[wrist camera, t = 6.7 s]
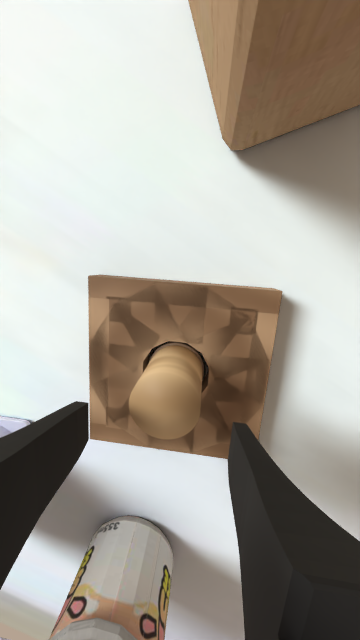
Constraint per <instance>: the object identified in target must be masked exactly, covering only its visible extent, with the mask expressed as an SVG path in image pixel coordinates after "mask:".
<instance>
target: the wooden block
mask: <svg viewBox="0 0 360 640" xmlns="http://www.w3.org/2000/svg"><path fill="white" fill-rule="evenodd" d="M188 1H189V5H190V9H191V13H192V17H193V21H194V25H195V29H196V33H197V37H198V41H199V45H200V49H201V53H202V57H203V61H204V65H205V69H206V73H207V78H208V82H209V86H210V90H211V94H212V98H213V102H214V106H215V110H216V114H217V118H218V122H219V126H220V130H221V134H222V138H223V140H224V141H225V143H226V144H227V145H228V147H229V148H230V150H244V149H246V148H249V147H252V146H254V145H257V144H259V143H262V142H265V141H267V140H270V139H272V138H275V137H278V136H280V135H283V134H285V133H288V132H290V131H293V130H296V129H298V128H301V127H303V126H306V125H309V124H311V123H314V122H316V121H319V120H322V119H324V118H327V117H329V116H332V115H335V114H337V113H340V112H342V111H345V110H348V109H350V108H353V107H355V106H358V105H360V0H188Z"/></svg>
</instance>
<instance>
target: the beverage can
mask: <svg viewBox="0 0 360 640" xmlns="http://www.w3.org/2000/svg"><path fill="white" fill-rule="evenodd" d="M172 570H173V552H172V550H171V547H170V544H169V542H168V540H167V538H166V537H165V535H164V534H163V533H162V531H161V530H160V529H159V528H158V527H157V526H155V525H154V524H153V523H151V522H150V521H147V520H145V519H143V518H140V517H134V516H122V517H117V518H115V519H113V520H110V521H108V522H106V523H104V524H103V525H102V526H101V527H100V528H99V529H98V530H97V531H96V533H95V534H94V535H93V538H92V540H91V542H90V545H89V547H88V549H87V552H86V554H85V556H84V559H83V561H82V563H81V566H80V568H79V571H78V573H77V575H76V578H75V580H74V582H73V585H72V587H71V589H70V592H69V594H68V596H67V599H66V601H65V603H64V606H63V608H62V610H61V613H60V615H59V617H58V620H57V622H56V624H55V627H54V629H53V631H52V634H51V636H50V638H49V640H164V637H165V629H166V620H167V612H168V604H169V595H170V587H171V578H172Z"/></svg>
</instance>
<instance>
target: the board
mask: <svg viewBox="0 0 360 640" xmlns="http://www.w3.org/2000/svg"><path fill="white" fill-rule="evenodd" d="M88 289H89V379H90V439H94V440H101V441H108V442H115V443H122V444H128V445H135V446H142V447H149V448H156V449H163V450H170V451H177V452H184V453H190V454H197V455H204V456H211V457H218V458H225V459H228V455H229V447H230V440H231V432H232V425H233V422H238V423H245V424H247V425H248V426H249V428H250V429H251V431H252V432H253V434H254V435H255V437H256V438H257V440H258V438H259V432H260V426H261V420H262V414H263V408H264V401H265V395H266V389H267V383H268V377H269V371H270V365H271V358H272V352H273V346H274V340H275V334H276V328H277V321H278V315H279V309H280V303H281V297H282V291H280V290H277V289H274V288H261V287H248V286H236V285H223V284H211V283H198V282H185V281H173V280H160V279H147V278H135V277H122V276H110V275H92V276H88ZM167 341H173V342H183V343H187V344H189V345H190V346H192V347H193V348H195V349H196V350H198V351H199V352H201V353H202V355H203V357H204V359H205V361H206V363H207V365H208V374H207V375H206V377H205V378H204V379H203V381H202V390H201V407H200V416H199V420H198V422H197V424H196V425H195V427H194V428H193V429H192V430H191V431H190V432H189V433H188V434H186V435H184V436H182V437H180V438H176V439H159V438H155V437H152V436H150V435H148V434H147V433H145V432H144V431H142V430H141V429H140V428H139V427H138V426H137V425H136V423H135V422H134V420H133V419H132V416H131V414H130V410H129V398H130V394H131V392H132V390H133V388H134V387H135V385H136V383H137V382H138V380H139V379H140V377H141V375H142V374H143V372H144V370H145V369H146V367H147V366H148V364H149V354H150V351H151V350H152V348H154V347H156V346H158V345H161V344H163V343H165V342H167Z"/></svg>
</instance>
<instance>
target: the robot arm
mask: <svg viewBox="0 0 360 640" xmlns="http://www.w3.org/2000/svg"><path fill="white" fill-rule="evenodd" d="M88 439H89V437H88V403H84V402H77V401H76V402H74V403H71V404H69V405H67V406H65V407H63V408H61V409H59V410H57V411H55V412H54V413H52V414H50V415H48V416H46V417H44V418H42V419H40V420H38V421H36V422H34V423H32V424H30V422H29V421H27V420H23V419H16V418H9V417H2V416H0V589H1V587H2V585H3V583H4V581H5V580H6V578H7V576H8V574H9V572H10V570H11V568H12V566H13V564H14V563H15V561H16V559H17V557H18V555H19V553H20V551H21V550H22V548H23V546H24V544H25V542H26V540H27V539H28V537H29V535H30V533H31V532H32V530H33V528H34V526H35V524H36V523H37V521H38V519H39V517H40V516H41V514H42V513H43V511H44V510H45V508H46V506H47V505H48V503H49V502H50V501H51V499H52V498H53V496H54V495H55V493H56V492H57V490H58V489H59V487H60V486H61V484H62V483H63V482H64V480H65V479H66V477H67V476H68V474H69V473H70V471H71V470H72V468H73V467H74V465H75V464H76V462H77V461H78V459H79V457H80V455H81V453H82V451H83V450H84V448H85V446H86V443H87V441H88ZM228 475H229V487H230V493H231V500H232V507H233V513H234V519H235V526H236V532H237V538H238V546H239V555H240V569H241V582H242V597H243V612H244V628H245V640H360V541H358V540H357V539H356V538H354V537H353V536H352V535H351V534H349V533H348V532H347V531H345V530H344V529H343V528H342V527H340V526H339V525H338V524H337V523H335V522H334V521H333V520H332V519H331V518H329V517H328V516H327V515H326V514H325V513H324V512H323V511H321V510H320V509H319V508H318V507H317V506H316V505H315V504H314V503H312V502H311V501H310V500H309V499H308V498H307V497H306V496H305V495H304V494H303V493H302V492H301V491H300V490H299V489H298V488H297V487H296V486H295V485H294V484H293V483H292V482H291V481H290V480H289V479H288V478H287V476H286V475H285V474H284V473H283V472H282V471H281V470H280V468H279V467H278V466H277V465H276V464H275V462H274V461H273V460H272V459H271V457H270V456H269V455H268V453H267V452H266V451H265V449H264V448H263V447H262V445H261V444H260V442H259V441H258V440H257V438H256V437H255V435H254V434H253V432H252V431H251V429H250V428H249V426H248V425H247V424H245V423H238V422H233V425H232V432H231V440H230V447H229V455H228ZM0 640H9V639H5V638H0Z"/></svg>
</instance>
